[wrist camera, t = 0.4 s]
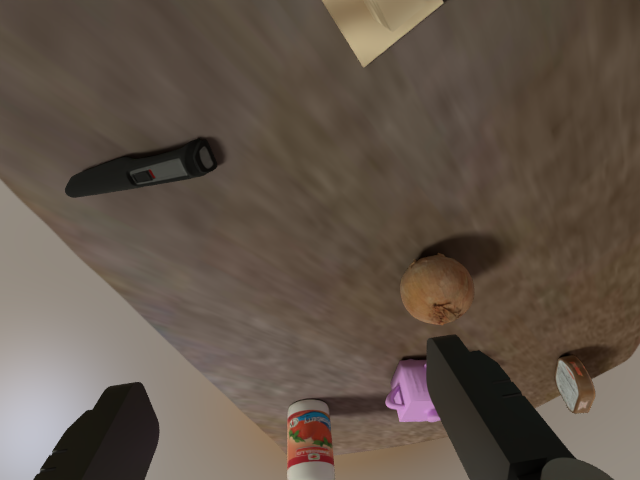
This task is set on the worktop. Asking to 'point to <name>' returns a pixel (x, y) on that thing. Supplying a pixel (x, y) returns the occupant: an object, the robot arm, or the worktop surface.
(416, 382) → the teapot
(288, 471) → the fruit juice
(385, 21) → the post
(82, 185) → the electric trimmer
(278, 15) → the worktop surface
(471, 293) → the onion
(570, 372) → the tin
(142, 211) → the worktop surface
